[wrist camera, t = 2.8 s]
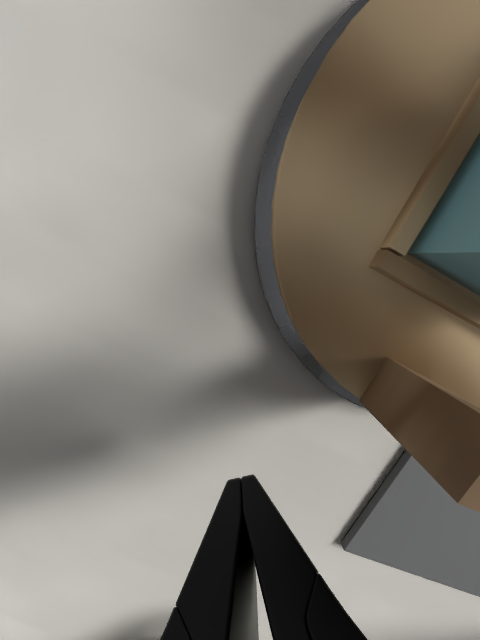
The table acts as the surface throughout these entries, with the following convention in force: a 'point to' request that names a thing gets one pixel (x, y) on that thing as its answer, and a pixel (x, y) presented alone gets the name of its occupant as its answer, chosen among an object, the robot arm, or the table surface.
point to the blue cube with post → (455, 227)
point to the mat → (419, 529)
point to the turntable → (388, 227)
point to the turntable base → (266, 196)
